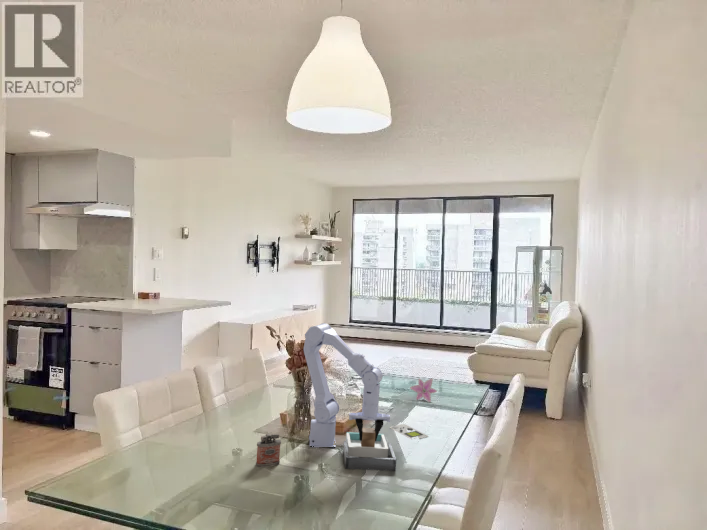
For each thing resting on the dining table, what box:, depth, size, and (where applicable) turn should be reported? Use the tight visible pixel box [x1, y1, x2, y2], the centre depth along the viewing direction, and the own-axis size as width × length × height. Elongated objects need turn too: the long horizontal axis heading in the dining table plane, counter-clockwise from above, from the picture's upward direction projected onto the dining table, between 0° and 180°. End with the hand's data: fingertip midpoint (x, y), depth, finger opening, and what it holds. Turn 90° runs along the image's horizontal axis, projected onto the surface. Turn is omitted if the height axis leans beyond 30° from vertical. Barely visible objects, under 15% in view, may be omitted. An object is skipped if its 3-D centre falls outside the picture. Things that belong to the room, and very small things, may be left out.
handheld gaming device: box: [389, 423, 429, 440], centre depth 214 cm, size 9×1×15 cm
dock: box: [342, 439, 397, 472], centre depth 184 cm, size 17×14×4 cm
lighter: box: [255, 433, 282, 468], centre depth 175 cm, size 8×3×10 cm, turn 118°
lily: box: [409, 378, 438, 403], centre depth 261 cm, size 12×12×10 cm
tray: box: [345, 431, 388, 458], centre depth 193 cm, size 14×14×4 cm
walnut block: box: [361, 427, 376, 447], centre depth 189 cm, size 4×4×6 cm
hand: (367, 439), depth 190 cm, fingers closed on walnut block, 4 cm apart
